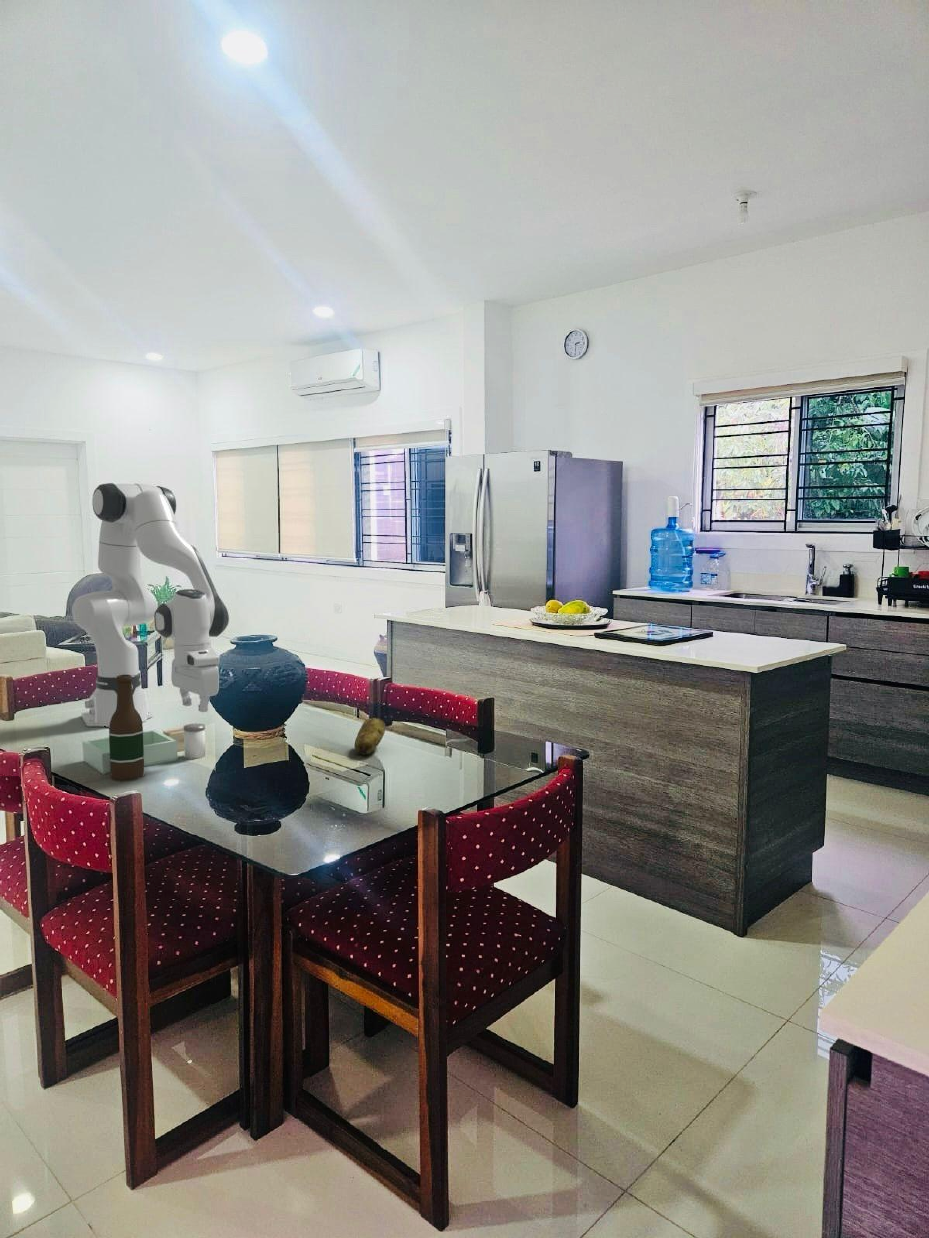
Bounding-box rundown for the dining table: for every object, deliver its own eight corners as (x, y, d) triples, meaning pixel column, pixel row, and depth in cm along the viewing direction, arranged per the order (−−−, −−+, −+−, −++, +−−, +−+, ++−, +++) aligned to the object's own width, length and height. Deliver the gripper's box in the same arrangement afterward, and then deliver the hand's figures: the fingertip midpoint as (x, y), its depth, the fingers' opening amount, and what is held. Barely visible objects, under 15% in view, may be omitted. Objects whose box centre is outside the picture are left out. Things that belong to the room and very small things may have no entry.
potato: (341, 754, 211) (341, 724, 210) (369, 742, 222) (370, 714, 221) (367, 759, 207) (367, 728, 206) (395, 747, 218) (395, 718, 217)
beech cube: (163, 748, 214) (162, 730, 213) (181, 745, 217) (181, 727, 217) (171, 753, 210) (170, 734, 210) (189, 749, 213) (189, 731, 213)
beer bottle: (118, 770, 194) (115, 672, 192) (151, 771, 194) (147, 672, 191) (103, 781, 187) (99, 678, 184) (137, 782, 186) (133, 679, 184)
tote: (83, 760, 202) (82, 741, 201) (155, 748, 214) (154, 729, 213) (102, 774, 192) (102, 753, 191) (177, 760, 204) (176, 740, 203)
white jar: (180, 755, 208) (180, 725, 207) (200, 751, 211) (199, 722, 210) (189, 760, 204) (188, 729, 203) (209, 756, 207) (208, 726, 207)
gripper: (163, 651, 210) (166, 703, 212) (198, 660, 195) (200, 717, 196) (187, 648, 214) (189, 700, 216) (223, 657, 199) (224, 713, 201)
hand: (195, 708), depth 206 cm, fingers open, 8 cm apart
